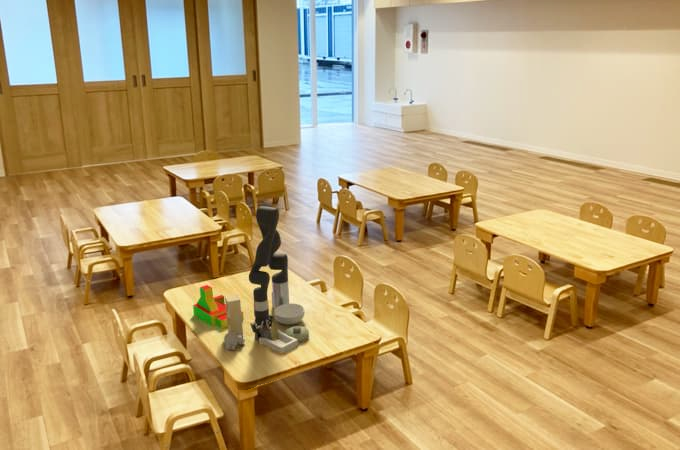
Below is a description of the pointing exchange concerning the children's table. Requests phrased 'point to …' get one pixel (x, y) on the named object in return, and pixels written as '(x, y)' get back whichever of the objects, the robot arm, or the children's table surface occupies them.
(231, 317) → the toy refrigerator
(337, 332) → the children's table surface
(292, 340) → the grey bracket and lid
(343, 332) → the children's table surface
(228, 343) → the toy rhinoceros
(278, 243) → the robot arm
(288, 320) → the cereal bowl
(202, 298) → the building blocks toy
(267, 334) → the orange-panel grey block
